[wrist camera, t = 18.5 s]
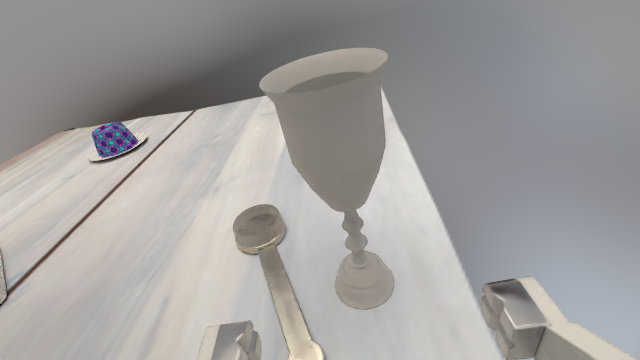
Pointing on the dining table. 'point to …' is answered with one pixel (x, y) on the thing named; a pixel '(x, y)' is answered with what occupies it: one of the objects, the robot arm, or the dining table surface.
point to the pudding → (114, 141)
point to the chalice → (338, 149)
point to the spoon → (276, 276)
